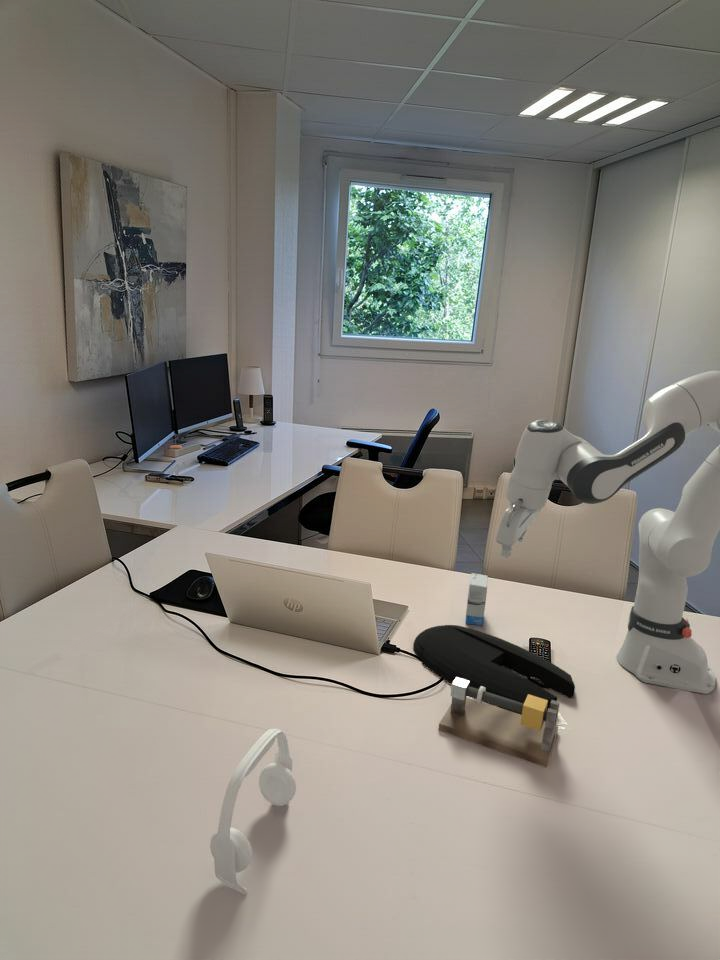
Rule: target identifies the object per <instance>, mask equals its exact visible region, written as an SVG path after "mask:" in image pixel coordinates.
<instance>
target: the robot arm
mask: <svg viewBox="0 0 720 960" xmlns="http://www.w3.org/2000/svg"><path fill="white" fill-rule="evenodd" d="M642 420H643V425H644V428H645V431H646V433H645V434H644V435H643V437H641V438H639V439H638V440H636V441H635V442H633V443H631V444H629V446H627V447H626V448H623V449H622V450H621V451H618V452H617V453H615V454H604V453H602V452H601V451H600V450H598V449H596V448H595V446H593V444H591V443H589V442H588V441H587V440H585V439H584V438H582V437H580V436H577V435H575V434H573V433H571V432H570V431H568V430H567V428H565V427H564V425H563V424H562V423H561V422H558V421H555V420H550V419H537V420H534V421H531V422H530V423H528V425H527V426H526V427H525V429H524V431H523V432H522V434H521V438H520V440H519V443H518V446H517V448H516V452H515V457H514V467H513V470H511V473H510V476H509V480H508V484H507V486H506V490H505V498H506V499H507V500H508V501H509V507H508V508H507V509H506V510H505V511H504V512H503V515H502V518H501V521H500V524H499V527H498V530H497V533H496V537H495V540H496V541H495V542H496V543H497V544H500V545H501V548H502V549H501V551H500V555H501V556H502V557H503V558H506V559H507V558H509V557H510V556H511V554H512V551H513V546H514V544H516V542H517V541H518V542H522V541H523V540H524V539H525V536H526V533H527V530H528V529H529V527H530V526H531V525H532V524H533V523H534V522H535V520H536V519H537V518H538V516H539V515H540V512H541V510H542V509H543V508H544V507H546V505H547V501H548V498H549V496H550V492H551V490H552V487H553V486H552V485H553V482H554V481H556V480H557V481H561V482H562V483H563V484H565V486H567V487H568V489H569V490H570V491H571V492H572V494H573V495H574V497H576V499H577V500H579V501H580V502H581V503H584V504H588V505H589V504H590V505H596V504H601V503H603V502H606V501H608V500H610V499H611V498H612V497H613V496H615V495H616V494H617V493H618V492H620V490H621V489H622V488H623V487H624V486H625V485H626V484H629V482H631V481H633V480H634V479H635V478H638V476H640V475H642V474H643V473H645V472H646V471H648V470H649V469H652V468H653V467H654V466H655V465H658V464H659V463H661V462H663V460H666V459H667V458H668V457H669V456H671V455H673V454H674V453H675V452H676V451H677V450H679V448H681V446H682V445H683V444H684V442H685V440H686V437H687V436H689V435H690V434H692V433H694V432H696V431H697V430H700V429H702V428H703V427H705V426H710V428H712V429H713V430H714V431H716V432H718V433H720V370H709V371H705V372H701V373H697V374H694V375H692V376H689V377H686V378H684V379H681V380H679V381H677V382H674V383H672V384H670V385H669V386H667V387H664V388H662V389H659V390H658V391H656V392H655V393H653V394H652V395H651V396H649V398H647V400H646V401H645V404H644V406H643V410H642ZM637 525H638V526H637V527H638V533H639V535H638V536H639V546H638V547H639V549H638V550H639V551H638V582H637V586H636V587H637V588H636V592H635V593H636V594H635V596H634V603H633V605H632V607H631V609H630V611H629V614H628V619H627V620H628V622H627V633H626V635H625V638H624V641H623V643H622V645H621V647H620V649H619V650H618V652H617V654H616V659H617V661H618V663H619V665H621V666H622V667H623V668H624V669H626V670H627V671H629V672H630V673H632V674H633V675H635V677H637V679H638V680H639V681H640V682H642V683H647V684H652V685H656V686H662V687H667V688H673V689H678V690H683V691H690V692H695V693H700V694H705V695H707V694H710V693H712V692H713V691H714V690H715V687H716V675H715V673H714V671H713V669H712V668H711V666H709V665H708V658H707V654H706V652H705V650H704V648H703V646H701V645H700V644H699V643H698V642H697V641H696V640H694V639H693V637H692V636H693V635H692V634H693V633H692V629H691V628H690V627H691V624H690V622H689V619H688V618H686V619H685V618H684V617H683V615H684V610H685V606H686V602H687V595H688V593H689V588H688V583H687V577H688V578H691V577H695V576H698V575H700V574H701V573H703V572H704V571H705V570H706V569H707V568H708V567H709V566H710V563H711V560H712V550H713V546H714V543H715V540H716V538H717V536H718V534H719V532H720V444H719V445H718V446H717V447H715V449H714V450H712V452H711V453H710V454H709V455H708V456H707V457H706V459H705V460H704V461H703V462H702V464H701V465H700V466H699V467H698V468H697V470H695V472H694V473H693V475H691V477H690V478H689V479H688V481H687V482H686V483H685V484H684V486H683V487H682V493H681V497H680V501H679V502H678V506H677V508H676V509H675V511H672V510H670V509H667V508H661V507H658V508H652V509H649V510H648V511H646V512H645V513H643V515H642V516H641V517H640V519H639V521H638V524H637Z"/></svg>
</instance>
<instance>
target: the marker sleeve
mask: <svg viewBox="0 0 720 960" xmlns="http://www.w3.org/2000/svg"><path fill="white" fill-rule="evenodd" d="M547 703H548V700H545V699H542V698H539V697H536V696H532V695H529V694H528V695H527V698H526V700H525V702H524V705H523V710H522V717H521V723H520V724H521V725H524V726H527V727H530V728H533V729H536V730H539V731H541V728H542V726H543V723H544V722H545V721H543V715H544V711H545V710H546V709H547Z"/></svg>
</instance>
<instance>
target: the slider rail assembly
mask: <svg viewBox="0 0 720 960" xmlns="http://www.w3.org/2000/svg"><path fill="white" fill-rule="evenodd" d="M476 701H477V699H475V698H472V697H469V696H467V697H466V704H465V710H464V712H463V714H462V716H460V715H457V714H454V713H451V712H450V711H451V704H450V705H449V707H448V709H447V710H446V712H445V713H444V715H443V716H442V719H440V721H439V722H438V723H439V724H438V731H441V732H444V733H447V734H449V735H452V736H455V737H458V738H461V739H465V741H469V742H473V743H476V744H478V745H481V746H484V747H486V748H490V749H492V750H495V751H498V752H501V753H504V754H507V755H510V756H512V757H514V758H518V759H521V760H524V761H527V762H529V763H532V764H535V765H538V766H540V767H544V768H547V766H548V764H549V763H548V762H549V760H550V756H551V753H552V750H553V749H554V748H553V747H554V744H555V741H556V739H557V735H558V731H559V726H558V725H557V723H558V717H559V716H558V715H559V709H560V703H561V702H560V701H558V700H557V701H554V700H551V703H550V708H548V711H547V717H546V721H544V723H543V726H542V728H541V731H539V730H536V729H533V728H530V727H527V726H524V725H521V724H520V723H521V717H522V715H521V714H517V713H514V712H511V711H508V710H505V709H502V708H499V707H497V706H495V705H492V704H490V703H487V702H484V701H483V702H482V704H481V705H480V704H477V702H476ZM556 714H557V719H556ZM555 719H556V723H555Z"/></svg>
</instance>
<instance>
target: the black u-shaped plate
mask: <svg viewBox="0 0 720 960" xmlns="http://www.w3.org/2000/svg"><path fill="white" fill-rule="evenodd" d="M413 651H414V654H415V655H416V657H418V658H419V659H420V660H421V663H422V665H423V666H425V667H426V668H427V669H429V671H432V673H434V674H436V675H437V676H439V677H440V678H442V679H443V680H445V681H446V682H448V683H450V684H451V685H452V683H453V681H454V680H455V678H456V677H458V678H462V679H465V680H468V681H470V685H469V686H470V687H473V688H476V689H479V688H480V687H481V686H483V687H485V692H489V693H492V694H495V695H498V696H501V697H504V698H508V699H511V700H514V701H517V702H520V703H523V704H524V702H525V700H526V698H527V695H528V694H529V695H532V696H536V697H539V698H542V699H545V700H548V703H547V709H546V711H548V708H550V703H551V700H554V701H558V696H556V695H554V693H553V694H552V693H551V692H550V691H548V690H547V689H545V688H543V687H542V686H540V685H539V684H538V683H536V682H534V681H531V679H529V677H530V676H532V677H535V678H538V679H540V680H541V681H542V682H543V683H544V685H545V686H544V685H543V686H544V687H546V688H548V689H550V690H551V691H554V692H556V693H558V694H561V695H563V696H565V697H567V698H569V699H571V698H574V696H575V689H576V686H575V683H574V681H573V677H572V676H571V674H570V673H568V672H567V671H565V670H563V669H562V668H561V667H559V666H557V665H556V664H554V663H553V662H551V661H548V660H547V659H545V658H543V657H541V656H540V655H537V654H535V653H534V652H531V651H529V650H527V649H525V648H523V647H521V646H519V645H516V644H514V643H512V642H510V641H507V640H505V639H503V638H500V637H497V636H494V635H491V634H489V633H486V632H484V631H483V632H482V631H479V630H477V629H475V628H474V629H473V628H470V627H466V626H462V625H454V624H445V625H444V624H443V625H436V626H435V625H434V626H432V627H429V628H425V630H422V631H421V632H420V633H418V634H417V636H416V637H415V639H414V640H413ZM523 676H524V677H523ZM491 705H493V704H491ZM493 706H496V705H493ZM496 707H499V708H502V709H505V710H508V711H511V712H514V713H517V714H521V713H518V712H515V711H512V710H509V709H506V708H503V707H500V706H496ZM521 715H522V714H521Z"/></svg>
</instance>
